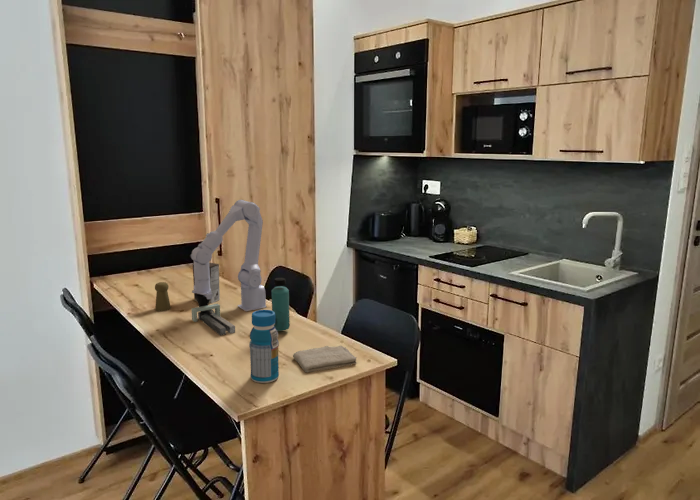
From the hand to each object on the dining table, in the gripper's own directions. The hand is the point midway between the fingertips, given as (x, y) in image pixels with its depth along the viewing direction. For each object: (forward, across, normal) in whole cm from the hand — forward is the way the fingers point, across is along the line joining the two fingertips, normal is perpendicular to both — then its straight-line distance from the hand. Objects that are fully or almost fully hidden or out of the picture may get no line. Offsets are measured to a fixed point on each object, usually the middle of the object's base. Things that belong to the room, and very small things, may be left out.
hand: (203, 312), depth 206 cm
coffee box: (+2, -19, +9) cm, 21 cm away
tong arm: (+2, +11, +2) cm, 12 cm away
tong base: (+2, +11, 0) cm, 12 cm away
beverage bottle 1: (+2, +61, -5) cm, 61 cm away
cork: (+2, -18, -10) cm, 21 cm away
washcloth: (+3, +61, +16) cm, 63 cm away
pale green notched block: (+2, +2, 0) cm, 3 cm away
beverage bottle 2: (+2, +30, +17) cm, 35 cm away
